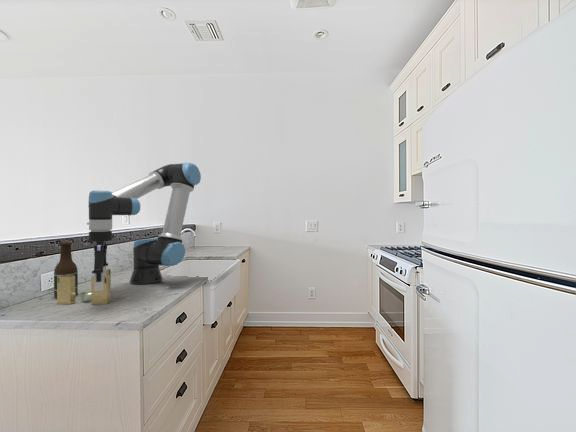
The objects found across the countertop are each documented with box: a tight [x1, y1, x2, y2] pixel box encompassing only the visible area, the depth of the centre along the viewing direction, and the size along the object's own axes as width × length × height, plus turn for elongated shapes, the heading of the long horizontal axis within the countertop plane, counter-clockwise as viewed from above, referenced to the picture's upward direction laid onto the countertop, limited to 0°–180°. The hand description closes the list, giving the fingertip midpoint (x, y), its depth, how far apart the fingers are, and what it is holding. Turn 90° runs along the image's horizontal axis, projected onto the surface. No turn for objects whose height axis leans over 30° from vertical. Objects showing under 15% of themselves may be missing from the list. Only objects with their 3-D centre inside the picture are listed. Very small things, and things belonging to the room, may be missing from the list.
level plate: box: [80, 289, 91, 304], centre depth 113 cm, size 21×21×5 cm
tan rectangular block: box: [56, 275, 76, 305], centre depth 109 cm, size 6×2×10 cm, turn 83°
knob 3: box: [106, 268, 112, 294], centre depth 120 cm, size 6×2×10 cm, turn 179°
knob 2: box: [90, 275, 111, 306], centre depth 109 cm, size 6×2×10 cm, turn 98°
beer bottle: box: [53, 241, 79, 300], centre depth 118 cm, size 8×8×24 cm
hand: (100, 286), depth 109 cm, fingers open, 12 cm apart
